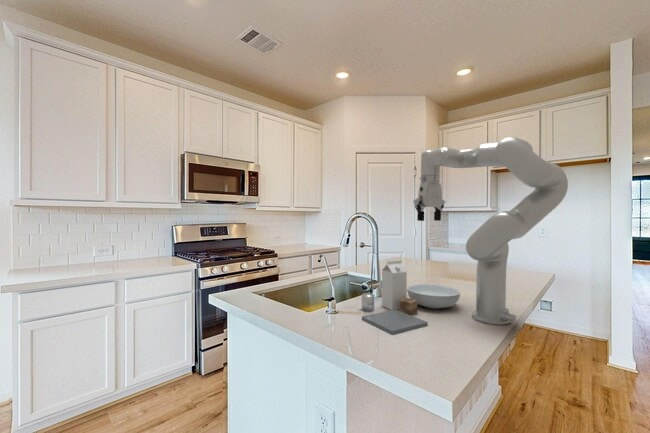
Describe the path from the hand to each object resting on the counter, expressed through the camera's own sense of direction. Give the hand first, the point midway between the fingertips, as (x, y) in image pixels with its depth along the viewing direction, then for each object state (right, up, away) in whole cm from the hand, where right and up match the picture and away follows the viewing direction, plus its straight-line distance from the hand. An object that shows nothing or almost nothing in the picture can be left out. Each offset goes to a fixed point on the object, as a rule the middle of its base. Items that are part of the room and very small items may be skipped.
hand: (429, 220), depth 133 cm
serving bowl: (+1, -36, -2) cm, 36 cm away
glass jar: (-27, -35, -8) cm, 45 cm away
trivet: (-20, -36, -23) cm, 47 cm away
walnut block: (-12, -36, -12) cm, 40 cm away
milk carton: (-16, -36, -5) cm, 39 cm away
